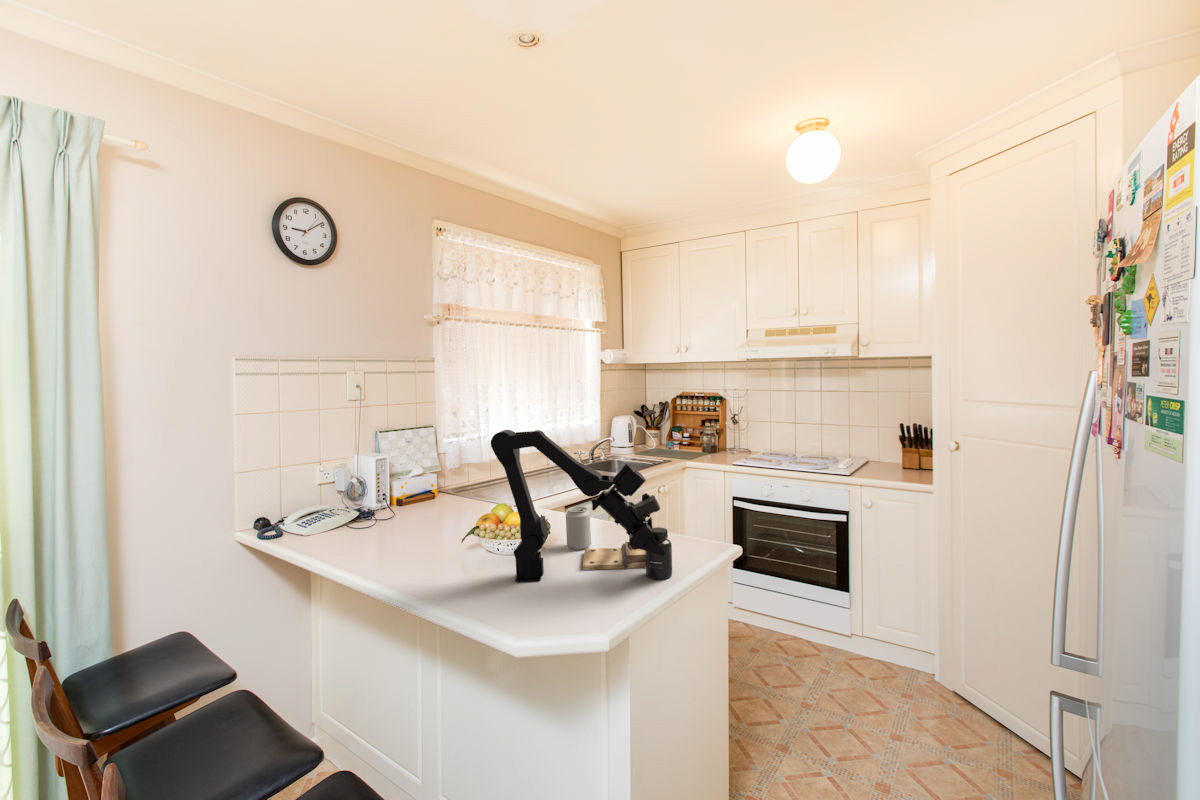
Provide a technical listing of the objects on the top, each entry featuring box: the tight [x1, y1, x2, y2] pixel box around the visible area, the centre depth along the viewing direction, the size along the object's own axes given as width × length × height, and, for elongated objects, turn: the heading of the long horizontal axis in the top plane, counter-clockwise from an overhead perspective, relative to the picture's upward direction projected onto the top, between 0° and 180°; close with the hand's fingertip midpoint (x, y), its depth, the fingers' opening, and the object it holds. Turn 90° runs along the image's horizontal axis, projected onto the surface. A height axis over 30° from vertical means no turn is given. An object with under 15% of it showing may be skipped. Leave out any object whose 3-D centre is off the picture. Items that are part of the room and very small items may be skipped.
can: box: [565, 506, 592, 551], centre depth 163 cm, size 8×8×12 cm
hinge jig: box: [582, 541, 646, 571], centre depth 150 cm, size 24×14×3 cm, turn 89°
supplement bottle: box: [645, 527, 673, 581], centre depth 137 cm, size 7×7×12 cm
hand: (663, 550), depth 137 cm, fingers closed on supplement bottle, 7 cm apart
